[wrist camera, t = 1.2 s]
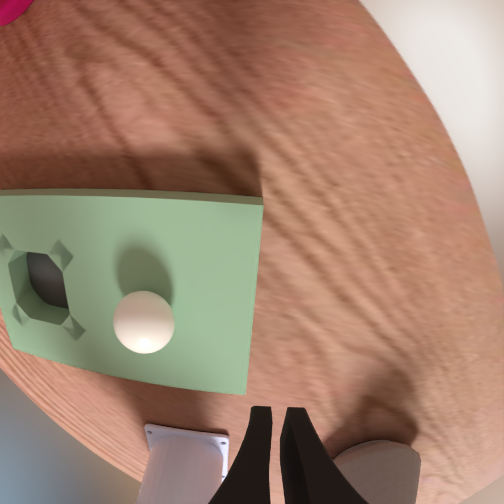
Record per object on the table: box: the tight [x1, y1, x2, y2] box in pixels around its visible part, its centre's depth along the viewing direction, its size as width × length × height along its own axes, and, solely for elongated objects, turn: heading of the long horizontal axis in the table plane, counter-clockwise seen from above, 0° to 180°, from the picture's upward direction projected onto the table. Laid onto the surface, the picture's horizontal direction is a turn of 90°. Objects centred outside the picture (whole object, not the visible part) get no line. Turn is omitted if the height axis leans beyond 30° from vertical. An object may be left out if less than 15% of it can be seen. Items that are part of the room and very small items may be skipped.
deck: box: [0, 188, 264, 395], centre depth 19 cm, size 13×20×2 cm, turn 85°
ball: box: [113, 291, 175, 354], centre depth 17 cm, size 4×4×4 cm
